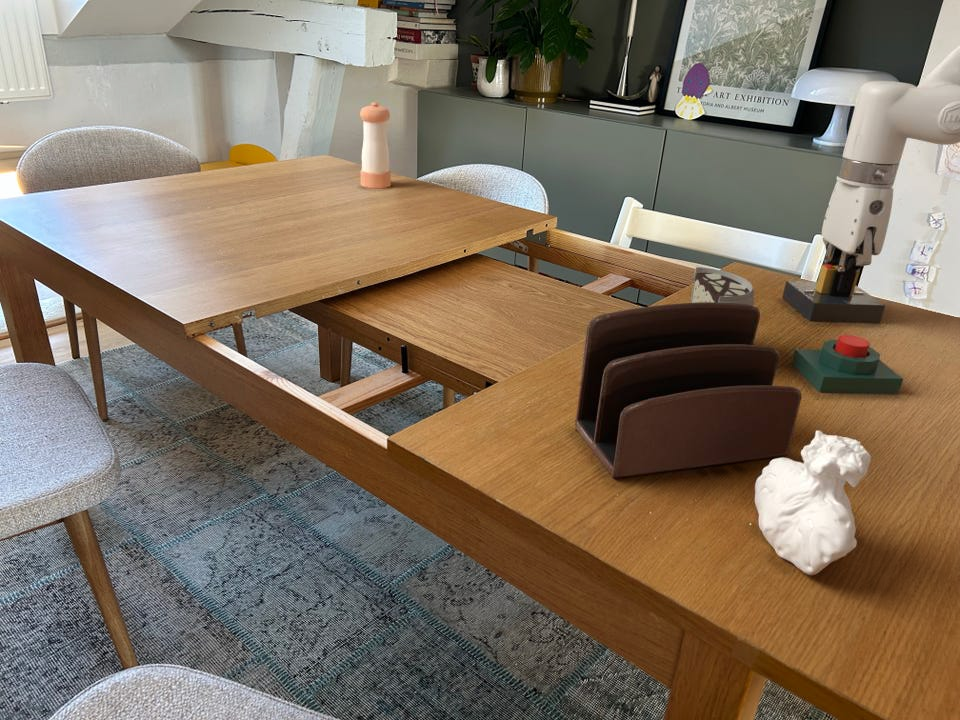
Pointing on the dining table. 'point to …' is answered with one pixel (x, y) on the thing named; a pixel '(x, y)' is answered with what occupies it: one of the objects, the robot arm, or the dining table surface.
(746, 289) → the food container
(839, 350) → the button
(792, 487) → the white tied bag
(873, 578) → the dining table surface
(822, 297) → the panel
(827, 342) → the button box
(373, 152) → the salt shaker
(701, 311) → the letter holder
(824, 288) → the knob
